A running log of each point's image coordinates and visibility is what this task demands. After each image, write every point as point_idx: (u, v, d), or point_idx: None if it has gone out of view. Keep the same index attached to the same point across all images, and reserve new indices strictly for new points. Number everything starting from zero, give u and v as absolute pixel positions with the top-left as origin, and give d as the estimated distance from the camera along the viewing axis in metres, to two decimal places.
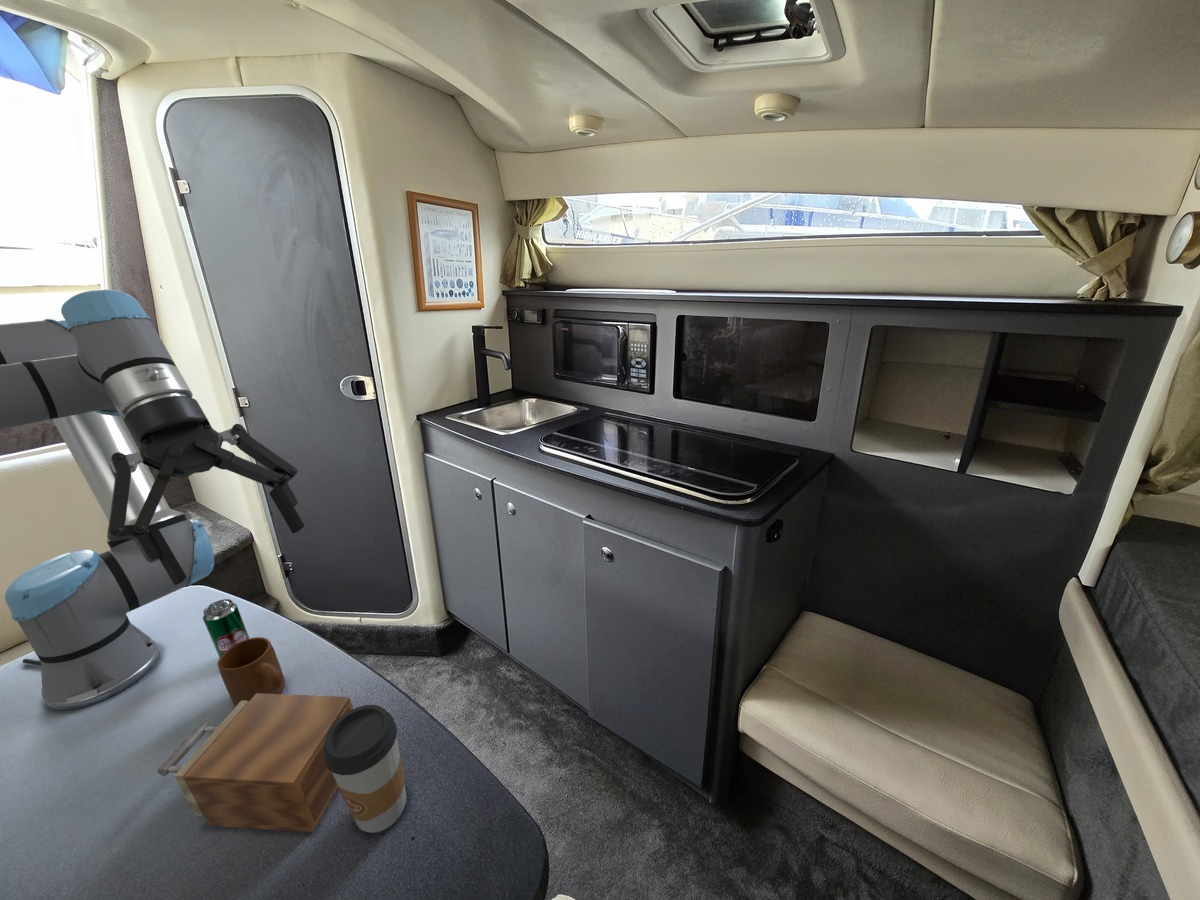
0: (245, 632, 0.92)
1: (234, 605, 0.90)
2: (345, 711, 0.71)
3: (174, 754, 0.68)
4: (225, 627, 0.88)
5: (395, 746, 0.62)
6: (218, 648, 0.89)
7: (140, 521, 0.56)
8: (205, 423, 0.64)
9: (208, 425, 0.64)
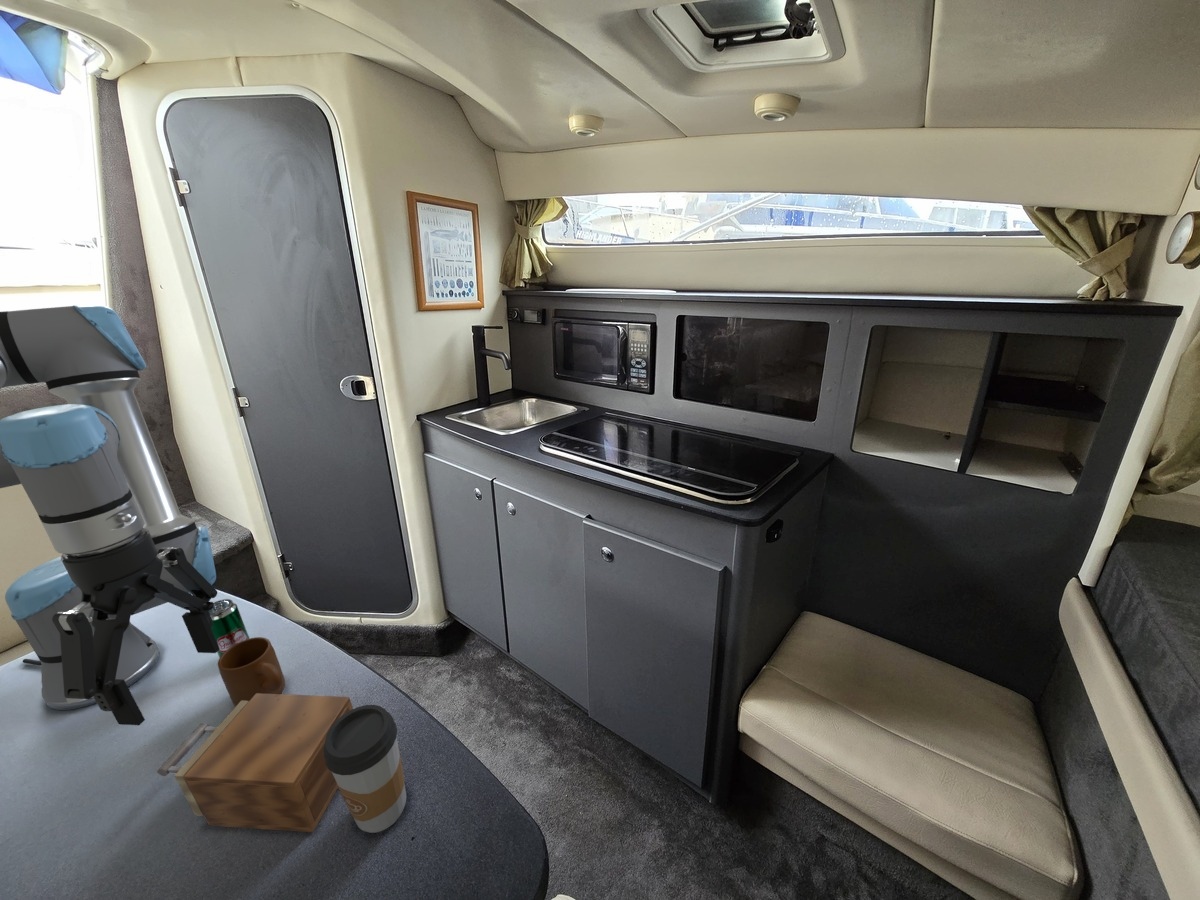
0: (245, 632, 0.92)
1: (234, 605, 0.90)
2: (345, 711, 0.71)
3: (174, 754, 0.68)
4: (225, 627, 0.88)
5: (395, 746, 0.62)
6: None
7: (108, 677, 0.56)
8: None
9: None
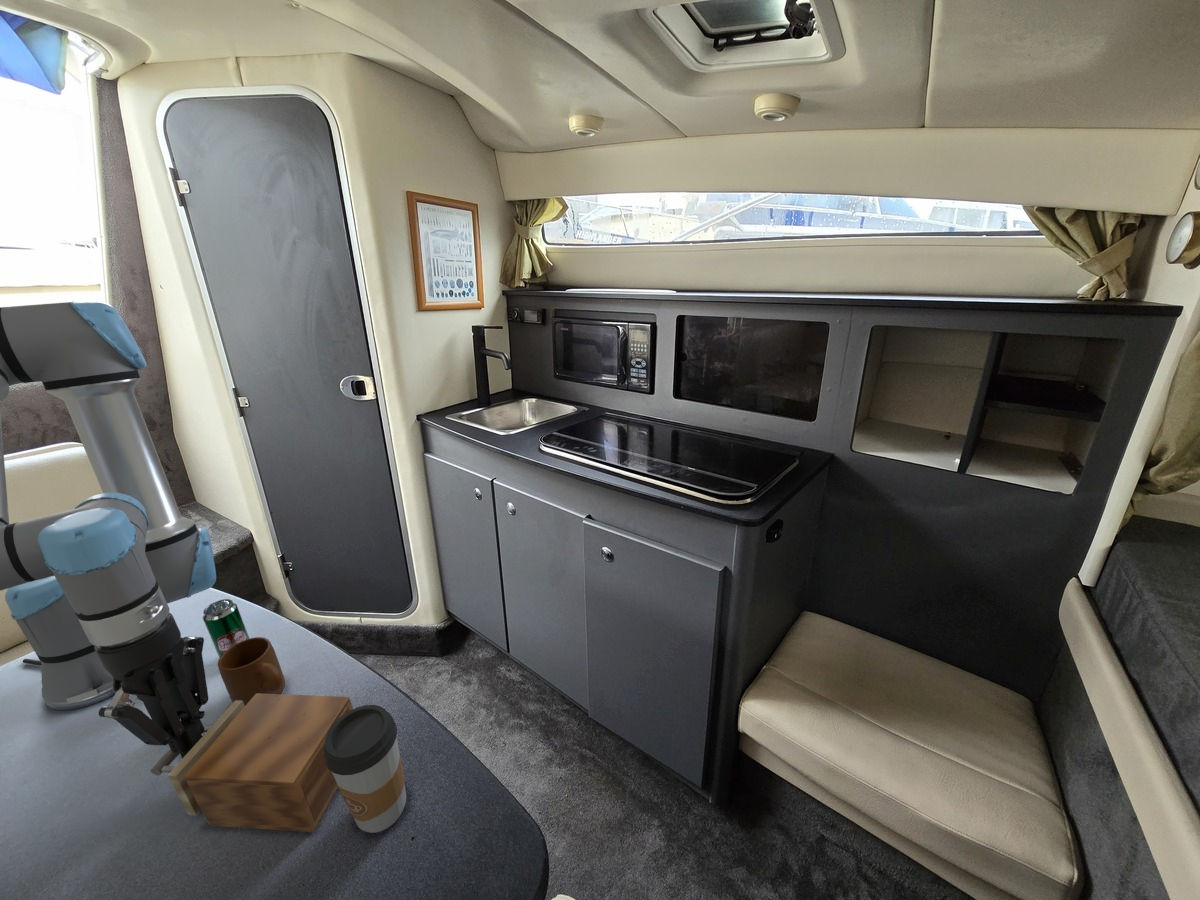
0: (245, 632, 0.92)
1: (234, 605, 0.90)
2: (345, 711, 0.71)
3: (168, 754, 0.68)
4: (225, 627, 0.88)
5: (395, 746, 0.62)
6: (218, 648, 0.89)
7: (176, 729, 0.66)
8: None
9: None
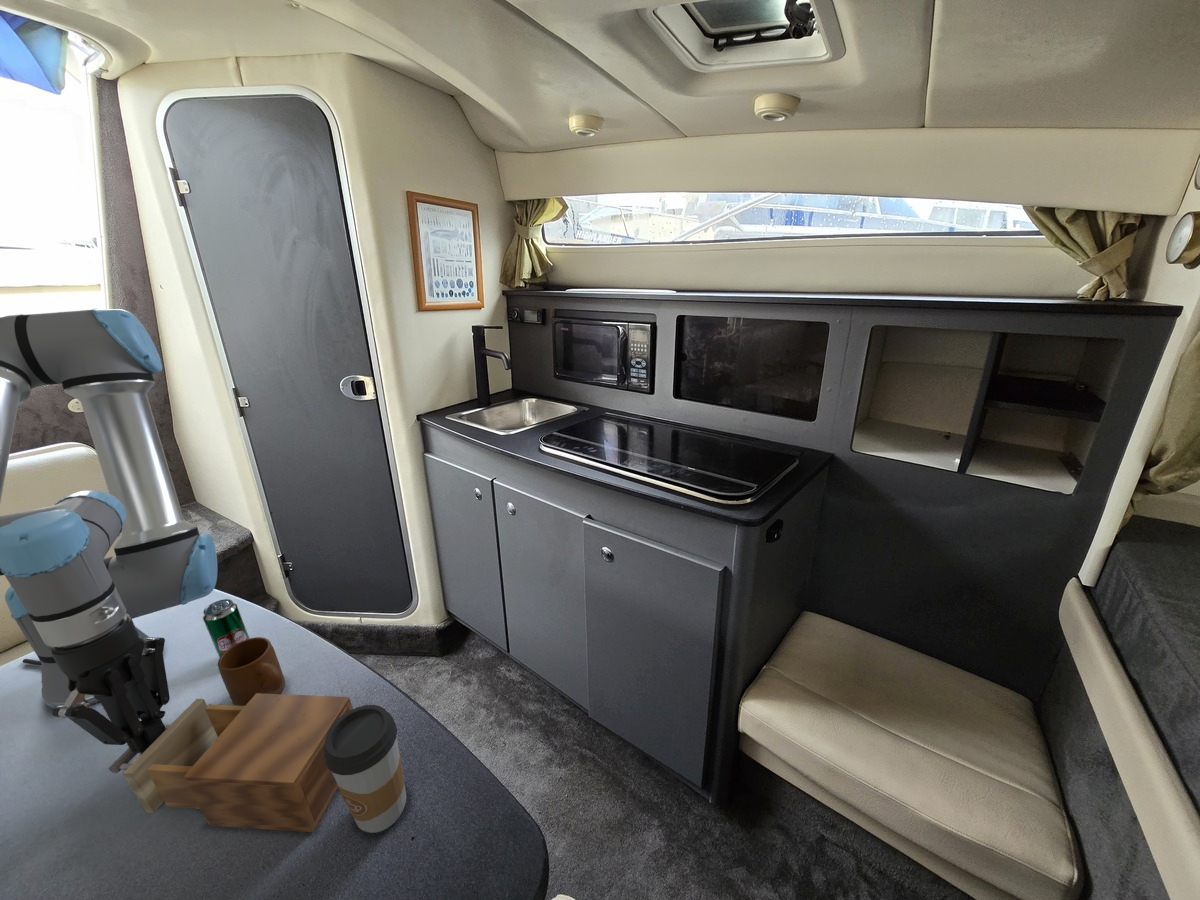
0: (245, 632, 0.92)
1: (234, 605, 0.90)
2: (345, 711, 0.71)
3: (127, 752, 0.69)
4: (225, 627, 0.88)
5: (395, 746, 0.62)
6: (218, 648, 0.89)
7: (135, 728, 0.66)
8: None
9: None
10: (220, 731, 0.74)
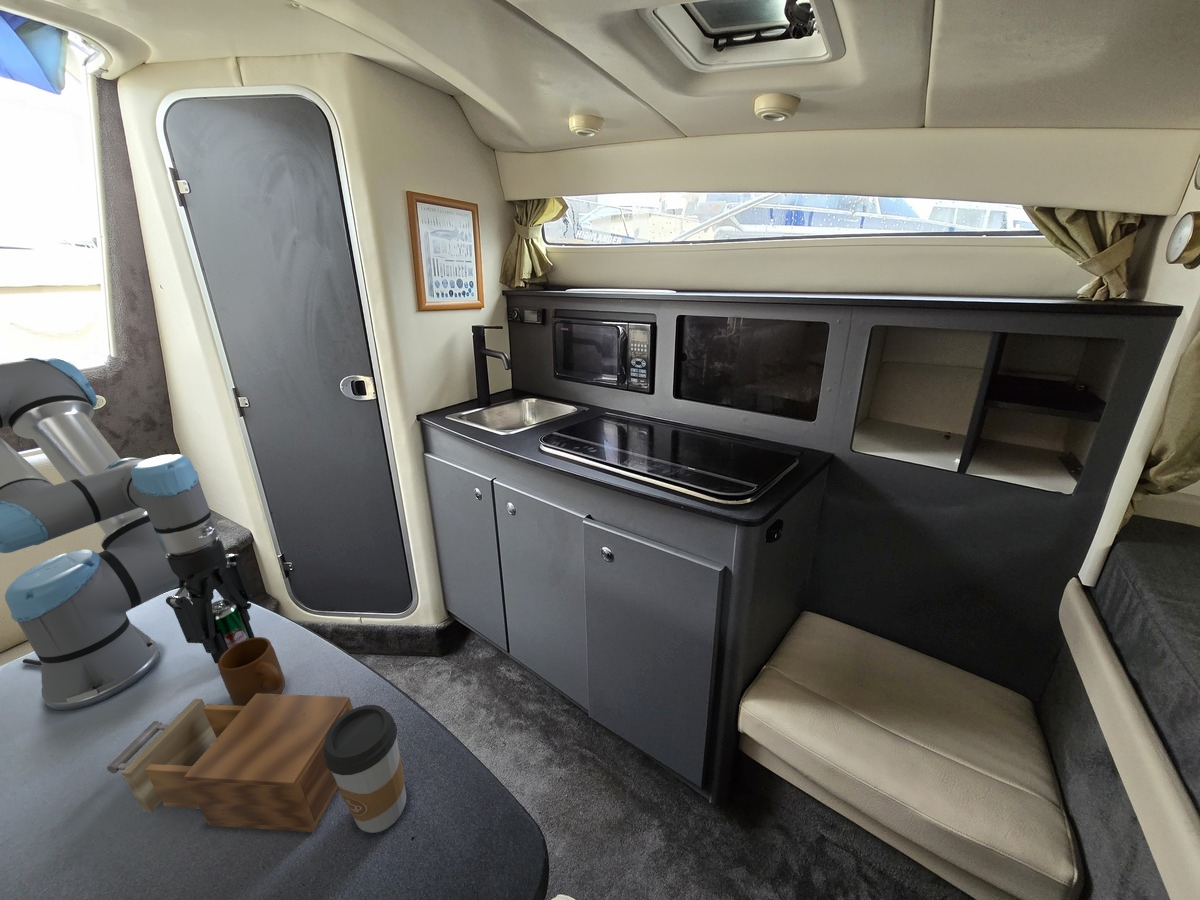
0: (245, 632, 0.92)
1: (234, 605, 0.90)
2: (345, 711, 0.71)
3: (125, 751, 0.69)
4: (225, 627, 0.88)
5: (395, 746, 0.62)
6: None
7: (210, 631, 0.86)
8: None
9: None
10: (218, 731, 0.74)
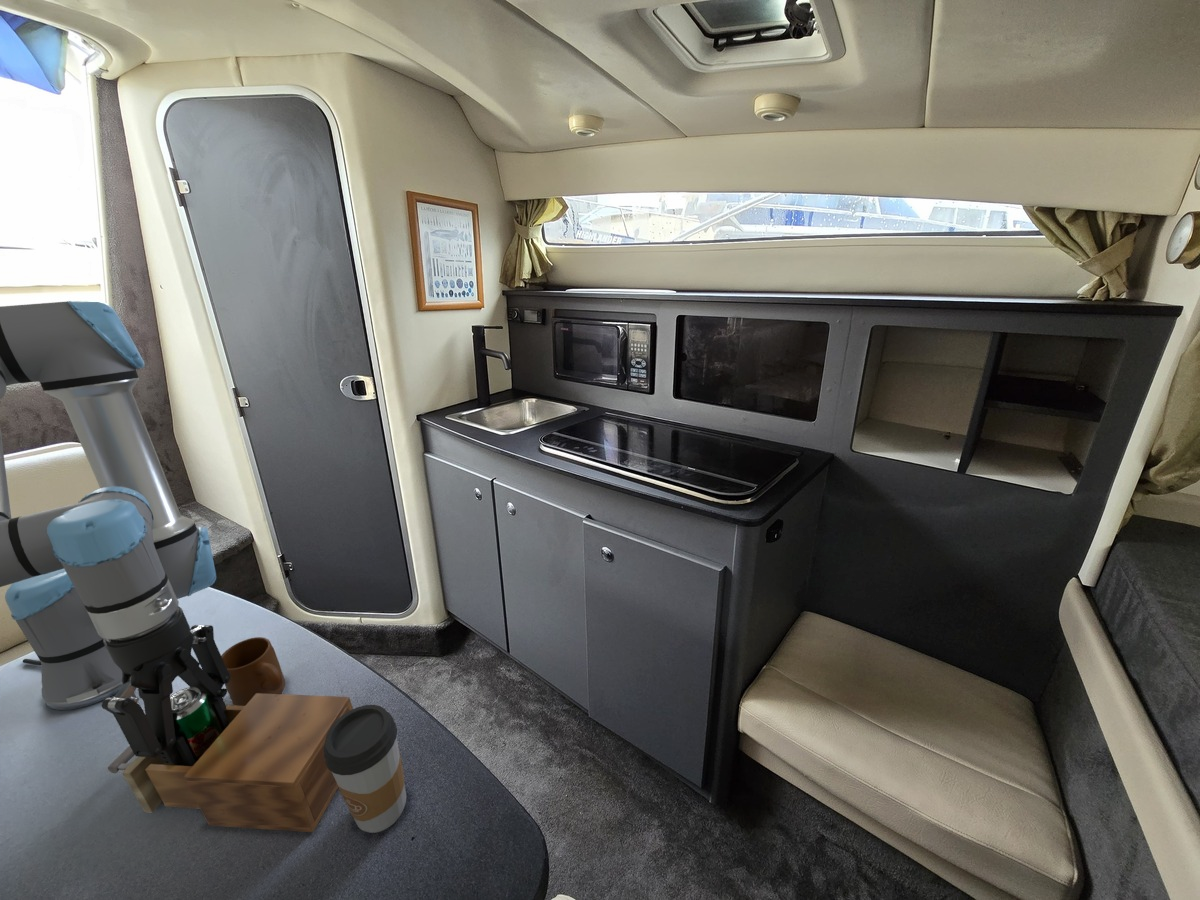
0: (219, 729, 0.69)
1: (203, 696, 0.67)
2: (345, 711, 0.71)
3: (125, 751, 0.69)
4: (190, 728, 0.65)
5: (395, 746, 0.62)
6: None
7: (169, 738, 0.63)
8: None
9: None
10: None
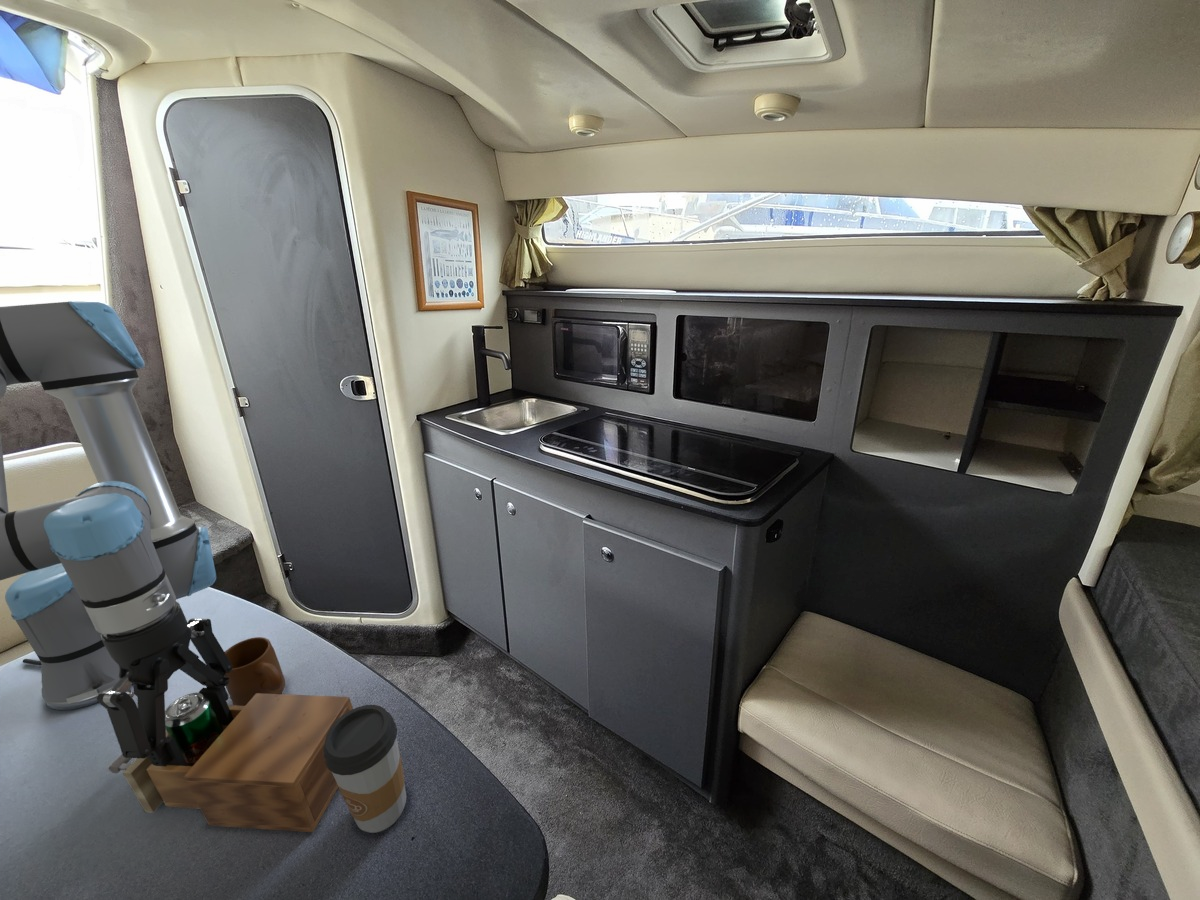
0: None
1: (206, 702, 0.68)
2: (345, 711, 0.71)
3: None
4: (193, 734, 0.66)
5: (395, 746, 0.62)
6: None
7: (159, 738, 0.62)
8: None
9: None
10: None
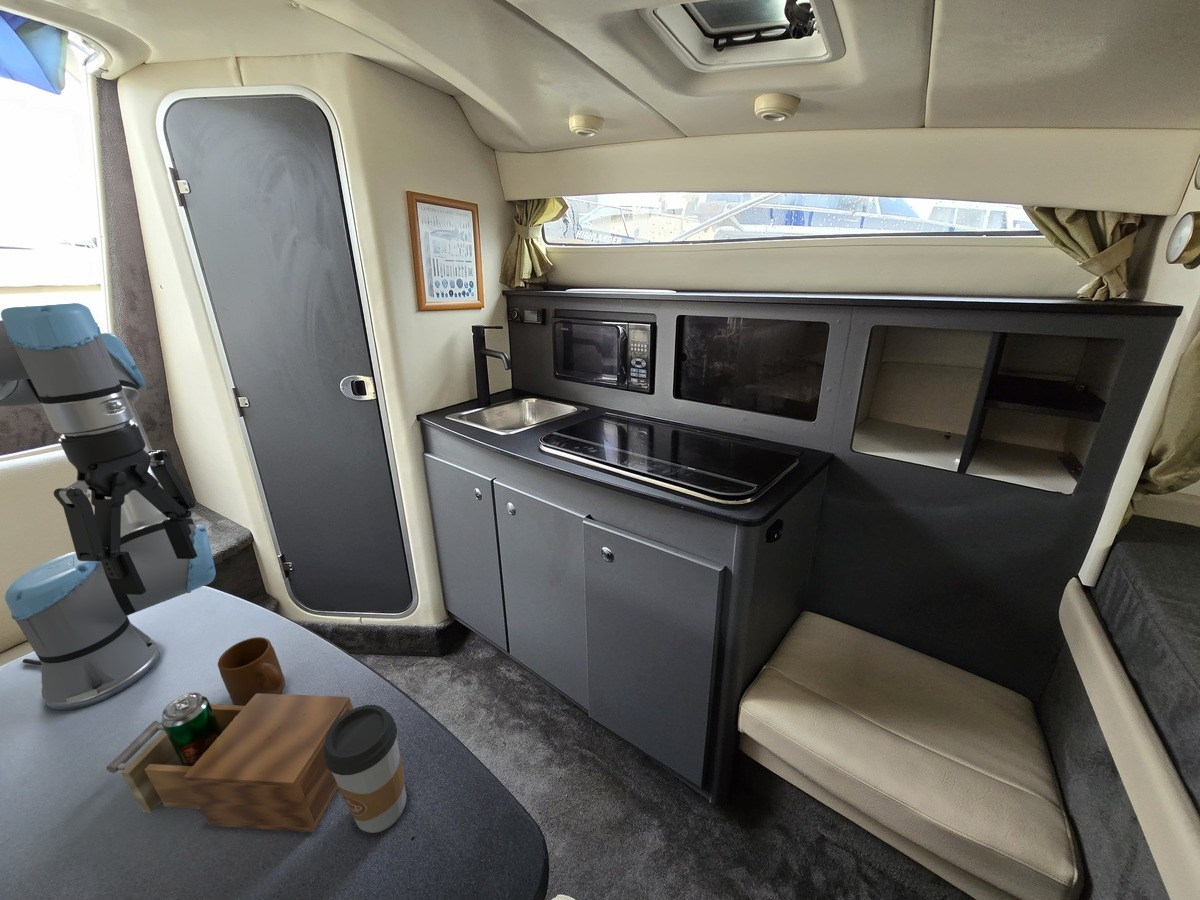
0: (219, 735, 0.69)
1: (204, 702, 0.68)
2: (345, 711, 0.71)
3: (124, 751, 0.69)
4: (191, 734, 0.66)
5: (395, 746, 0.62)
6: (182, 759, 0.67)
7: (113, 547, 0.64)
8: None
9: None
10: None
